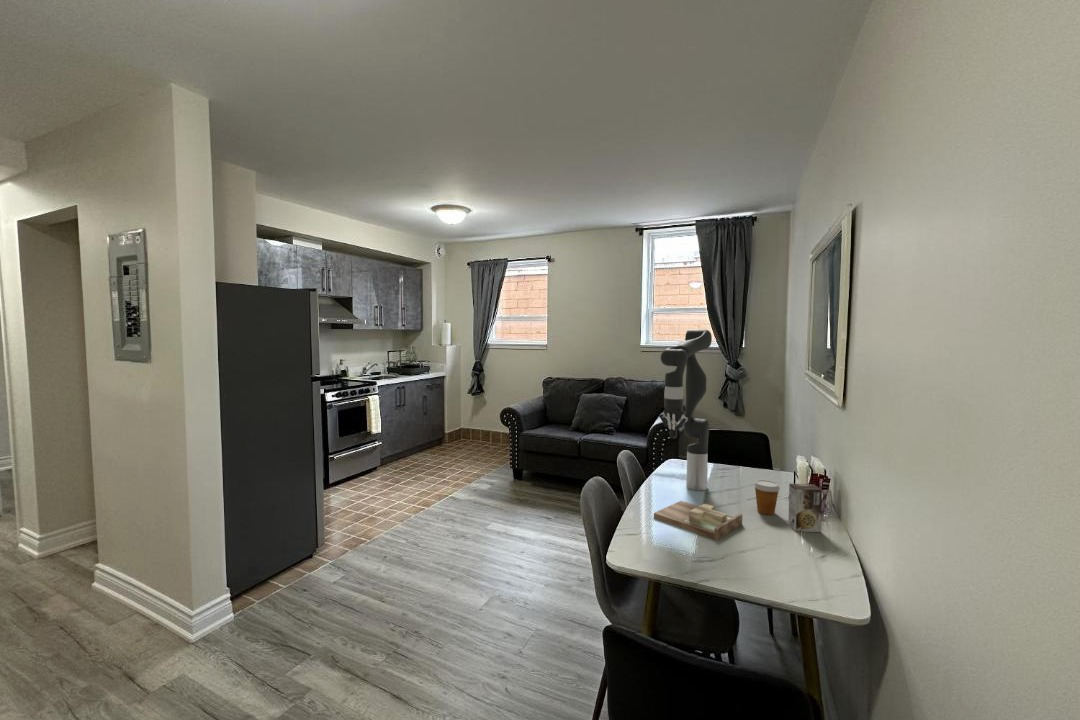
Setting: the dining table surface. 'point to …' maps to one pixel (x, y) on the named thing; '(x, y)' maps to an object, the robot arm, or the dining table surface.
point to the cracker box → (805, 507)
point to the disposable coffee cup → (766, 496)
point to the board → (680, 518)
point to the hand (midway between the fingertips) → (673, 438)
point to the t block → (707, 515)
